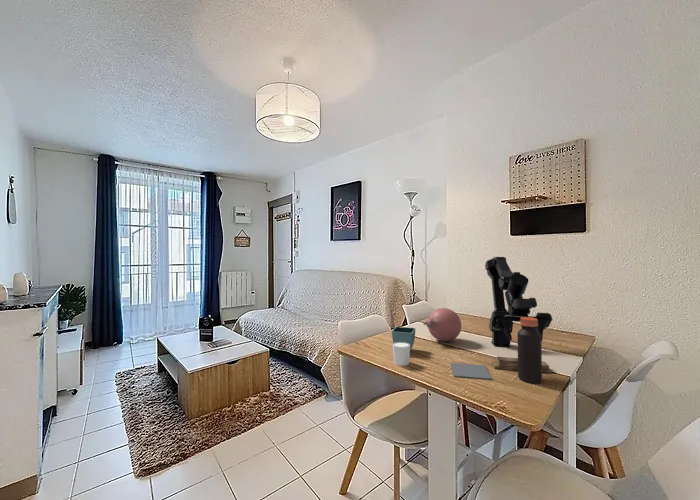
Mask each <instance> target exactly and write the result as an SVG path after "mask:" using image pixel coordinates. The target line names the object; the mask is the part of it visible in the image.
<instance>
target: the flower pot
mask: <svg viewBox="0 0 700 500" xmlns="http://www.w3.org/2000/svg"><path fill="white" fill-rule="evenodd" d="M391 338H392V344H393V343H397V342H404V343H408V344H410V351H411V350H412V348H413V346H414V343H415V340H416V339H415V338H416V327H405V326H395V327H394V328H393V329H392V330H391Z"/></svg>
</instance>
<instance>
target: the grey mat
mask: <svg viewBox="0 0 700 500" xmlns="http://www.w3.org/2000/svg"><path fill="white" fill-rule="evenodd" d="M450 367H451V371H452V375H453V377H455V378H466V379H479V380H486V381H487V380H488V381H489V380H490V381H492V380H493V378H492V375H491V374H490V371H489V370H488V369H487V366H486V365H484V364H471V363H462V362H459V363H458V362H450Z"/></svg>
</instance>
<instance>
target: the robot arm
mask: <svg viewBox="0 0 700 500" xmlns="http://www.w3.org/2000/svg"><path fill="white" fill-rule="evenodd" d="M484 268H485V271H486V274H487V275H488V276H487V277H489V278H490V279H491V286H492V287H491V288H492V298H493V308H494V310H493V311H492V312H491V315H490V318H489V324H488V329H489V331H490V332H491V344H492V345H493V346H494V347H504V348H505V347H506V348H510V347H511V341H513V338H512V333H513V328H514V327H513V326H514V322H517V323H520V318H521V317H532V318H536V319H538V326H537V327H538V328H537V331H538V332H539V333H540V334H541V343H542V342H543V339H544V338H543V336H544V330H545V329H547V328H549V326H551V323H552V321H553V317H552V314H550V313H549V312H537V313H536V314H535V316H532V315H531V316H529V315H530V314H531V310H532V309H536V307H537V306H538V303H537V302H538V301H537V299H536V298H535V297H529V298H524V297H523V295H525V292H526V290H527V288H528V285H529V278H528V277H527V276H525V275H524V274H521V272H520V271H514V272H513V271H512V270H511V268H510V266H509V264H508V262H507V258H506V256H494V257H492V258H490V259H488V260H486V262H485V264H484ZM504 291H505V292H504ZM505 301H506V303H505ZM506 304H507V309H506Z"/></svg>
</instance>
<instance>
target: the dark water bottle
mask: <svg viewBox="0 0 700 500" xmlns="http://www.w3.org/2000/svg"><path fill="white" fill-rule="evenodd" d="M519 323H520V327H521V329H519V330H518V331H517V333H516V334H517V358H518V370H517V378H518V379H519V380H520V381H523V382H524V383H529V384H541V383H542V382H543V372H542V355H543V354H542V350H543V348H542V342H541V334H540V333H539V332H538V331H537V328H538V327H537V326H538V319H536V318H532V317H521V318H520V322H519Z"/></svg>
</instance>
